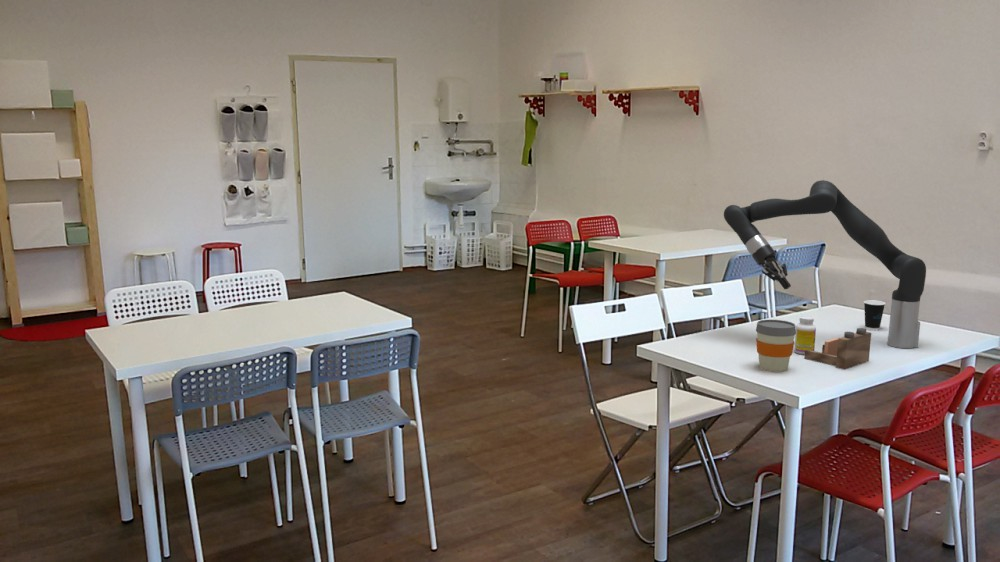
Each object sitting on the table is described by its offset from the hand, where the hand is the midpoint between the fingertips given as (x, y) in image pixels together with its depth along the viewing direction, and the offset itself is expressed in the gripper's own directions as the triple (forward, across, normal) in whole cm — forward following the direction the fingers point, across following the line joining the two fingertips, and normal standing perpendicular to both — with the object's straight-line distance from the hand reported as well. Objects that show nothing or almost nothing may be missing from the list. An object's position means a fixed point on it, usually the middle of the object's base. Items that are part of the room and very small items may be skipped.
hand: (788, 287), depth 289 cm
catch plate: (+28, 0, -2) cm, 28 cm away
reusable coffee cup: (+24, +24, -8) cm, 35 cm away
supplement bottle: (+22, 0, -10) cm, 24 cm away
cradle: (+30, 0, -2) cm, 30 cm away
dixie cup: (+20, -54, -12) cm, 59 cm away
